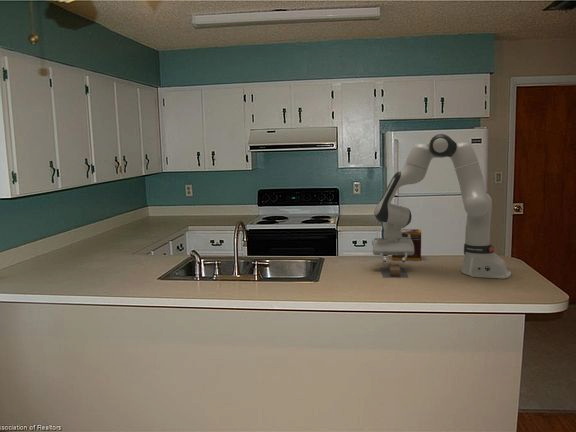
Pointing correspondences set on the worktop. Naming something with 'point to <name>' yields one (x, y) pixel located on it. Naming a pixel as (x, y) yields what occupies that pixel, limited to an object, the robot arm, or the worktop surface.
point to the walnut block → (394, 270)
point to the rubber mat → (387, 275)
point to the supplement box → (416, 241)
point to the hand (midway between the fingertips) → (394, 261)
